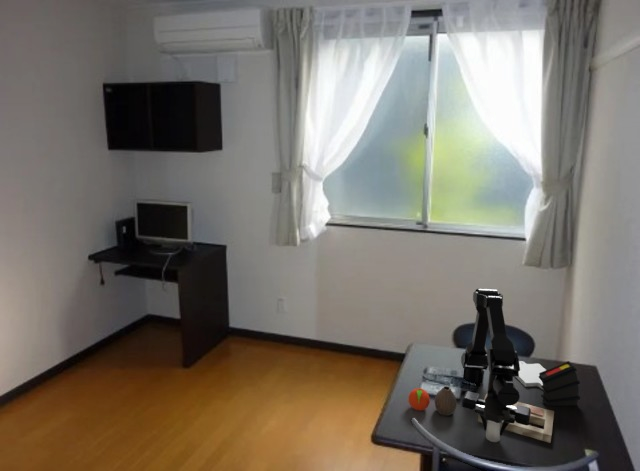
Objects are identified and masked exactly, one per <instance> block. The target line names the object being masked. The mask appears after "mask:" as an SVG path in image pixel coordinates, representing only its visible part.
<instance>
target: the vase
mask: <svg viewBox="0 0 640 471" xmlns="http://www.w3.org/2000/svg"><path fill="white" fill-rule="evenodd" d="M434 406H435V409H436V411H437V412H438V413H439V414H440V415H443V416H450V415H452V414H454V412H455V411H456V408H457V398H456V394H455V393H454V392H453V391H452V388H451V386H447V385H444V386H443V387H442V388H441V389H439V391H438V392H437V393H436V395H435V398H434Z"/></svg>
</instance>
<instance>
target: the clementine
mask: <svg viewBox="0 0 640 471" xmlns="http://www.w3.org/2000/svg"><path fill="white" fill-rule="evenodd" d="M430 401H431V400H430V395H429V393H428V392H427V391H426V390H425V389H423V388H421V387H419V388H413V389H412V390H411V391H410V392H409V395H408V403H409V406H411V408H412V409H414V410H416V411H424V410H425V409H427V408H428V407H429V405H430Z"/></svg>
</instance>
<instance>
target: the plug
mask: <svg viewBox="0 0 640 471" xmlns="http://www.w3.org/2000/svg"><path fill="white" fill-rule="evenodd" d="M502 421H503V420H501V422H500V423H496V422H494V421H490V420H487V428H486V431H485V438H486V440H488V441H490V442H492V443H498V442H499V441H500V438H501V435H500V431H501V424H502Z"/></svg>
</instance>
